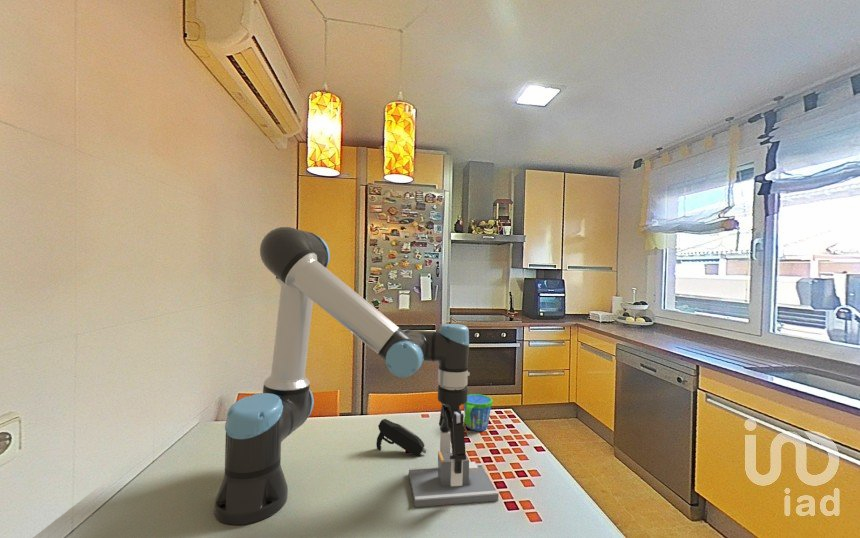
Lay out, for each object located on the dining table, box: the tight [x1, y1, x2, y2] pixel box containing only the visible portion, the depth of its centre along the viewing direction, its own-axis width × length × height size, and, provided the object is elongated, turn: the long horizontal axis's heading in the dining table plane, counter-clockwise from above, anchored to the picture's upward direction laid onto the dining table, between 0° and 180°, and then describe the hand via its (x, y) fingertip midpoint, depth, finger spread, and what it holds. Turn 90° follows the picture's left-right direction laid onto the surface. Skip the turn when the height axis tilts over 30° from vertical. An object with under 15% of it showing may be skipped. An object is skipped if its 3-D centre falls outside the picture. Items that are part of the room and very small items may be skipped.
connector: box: [437, 450, 478, 487], centre depth 94 cm, size 10×4×6 cm, turn 99°
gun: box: [376, 418, 428, 457], centre depth 112 cm, size 3×16×10 cm, turn 79°
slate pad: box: [408, 463, 499, 508], centre depth 93 cm, size 20×14×2 cm
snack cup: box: [462, 393, 494, 432], centre depth 131 cm, size 16×10×10 cm
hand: (450, 470), depth 94 cm, fingers open, 13 cm apart
